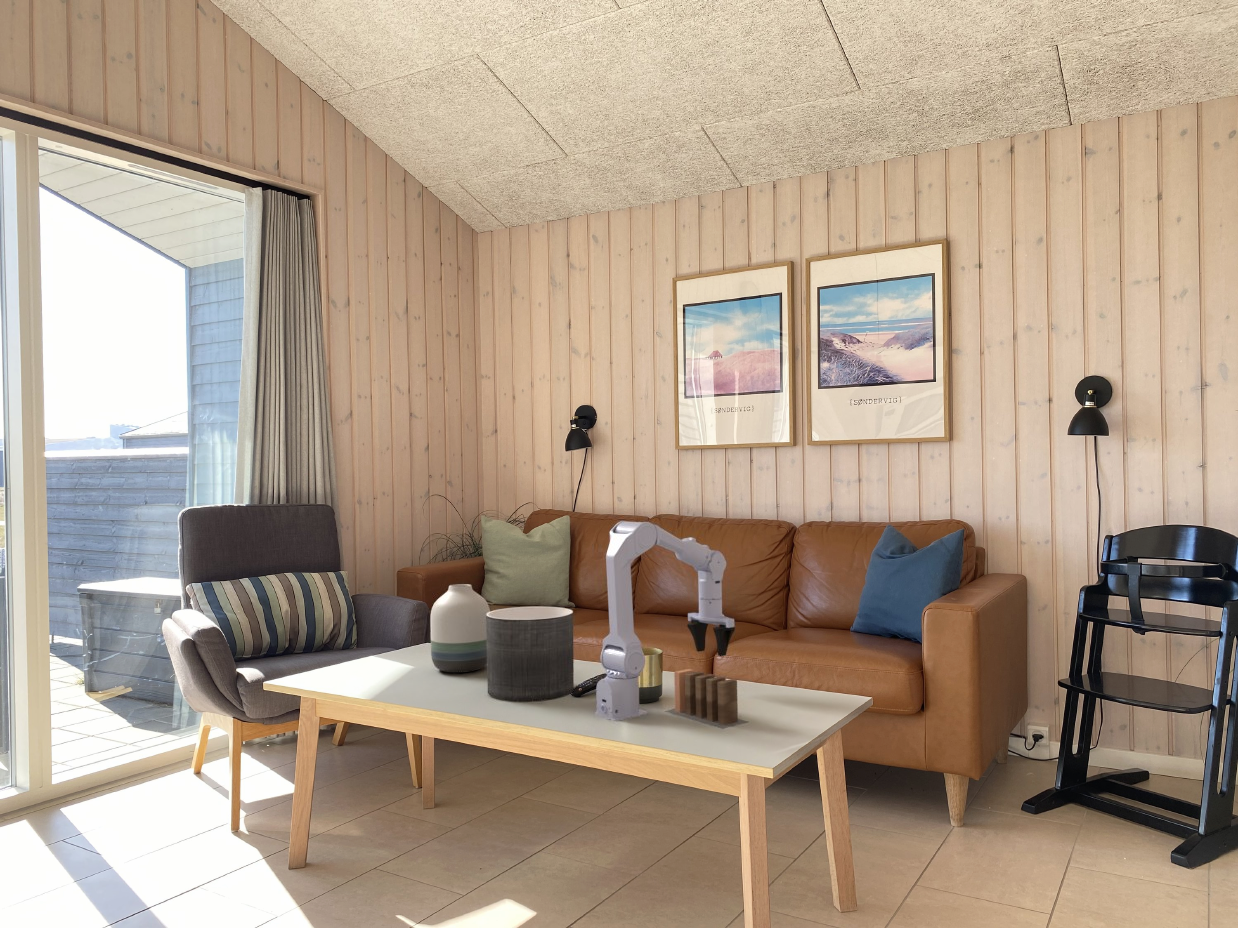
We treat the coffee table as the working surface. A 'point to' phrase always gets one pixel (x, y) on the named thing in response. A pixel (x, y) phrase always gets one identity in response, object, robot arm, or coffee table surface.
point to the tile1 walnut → (727, 702)
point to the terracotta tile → (680, 689)
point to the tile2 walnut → (712, 698)
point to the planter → (530, 653)
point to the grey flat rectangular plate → (704, 720)
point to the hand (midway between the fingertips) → (711, 653)
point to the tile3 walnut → (701, 695)
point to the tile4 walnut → (691, 692)
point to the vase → (459, 630)
